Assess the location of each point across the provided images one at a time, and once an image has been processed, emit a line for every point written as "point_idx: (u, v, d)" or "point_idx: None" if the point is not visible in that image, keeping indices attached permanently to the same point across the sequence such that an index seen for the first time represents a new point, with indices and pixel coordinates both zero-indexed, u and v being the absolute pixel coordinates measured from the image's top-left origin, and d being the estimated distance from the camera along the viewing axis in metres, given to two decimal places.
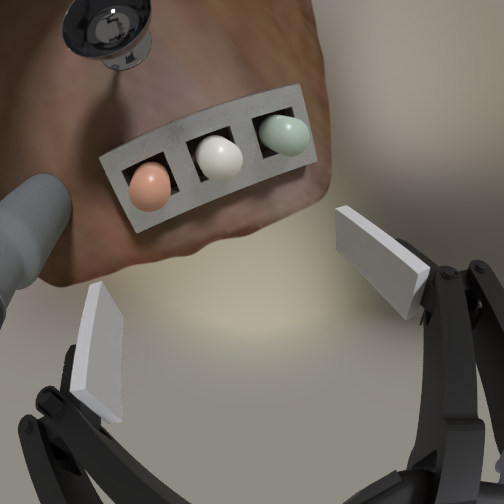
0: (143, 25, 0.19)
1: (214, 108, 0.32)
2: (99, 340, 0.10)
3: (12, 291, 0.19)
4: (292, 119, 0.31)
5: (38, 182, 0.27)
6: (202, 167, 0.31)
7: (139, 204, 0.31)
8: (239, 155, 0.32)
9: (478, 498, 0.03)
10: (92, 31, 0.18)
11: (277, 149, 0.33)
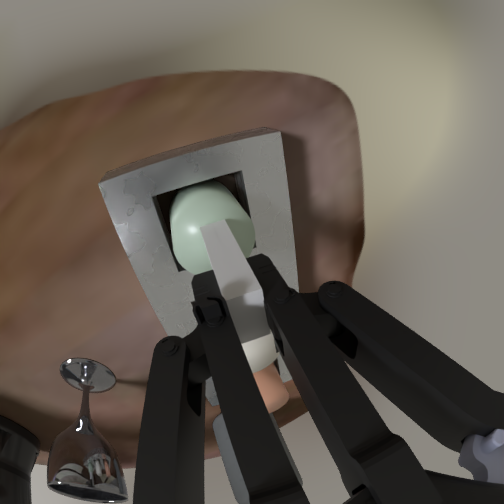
0: None
1: (162, 322, 0.22)
2: None
3: None
4: (176, 243, 0.16)
5: (222, 441, 0.34)
6: (252, 372, 0.22)
7: (275, 408, 0.26)
8: None
9: (478, 498, 0.03)
10: None
11: None
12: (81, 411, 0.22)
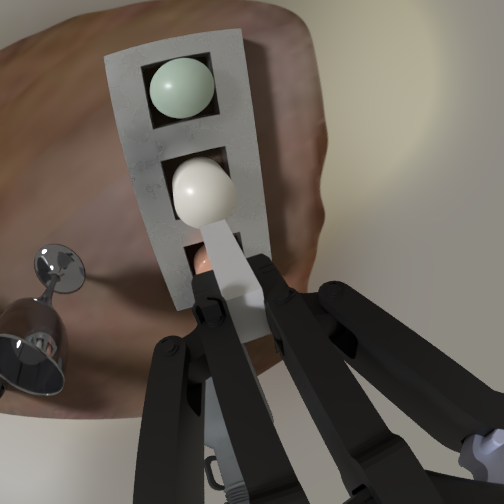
0: None
1: (133, 182, 0.23)
2: None
3: None
4: (153, 86, 0.18)
5: None
6: None
7: None
8: (201, 173, 0.21)
9: (478, 498, 0.03)
10: None
11: (198, 110, 0.20)
12: (43, 293, 0.23)
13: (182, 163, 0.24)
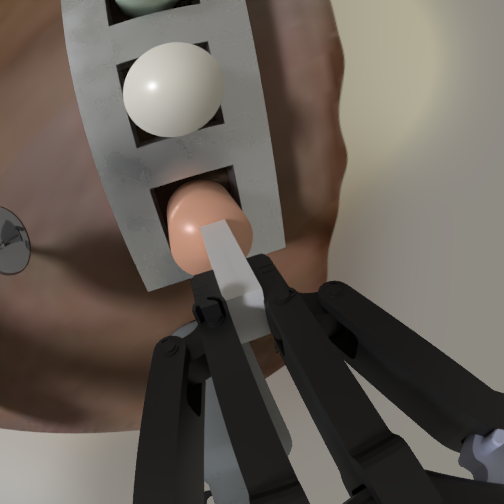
0: None
1: (79, 96, 0.13)
2: None
3: None
4: None
5: None
6: (180, 132, 0.13)
7: None
8: (166, 49, 0.10)
9: (478, 498, 0.03)
10: None
11: None
12: None
13: None
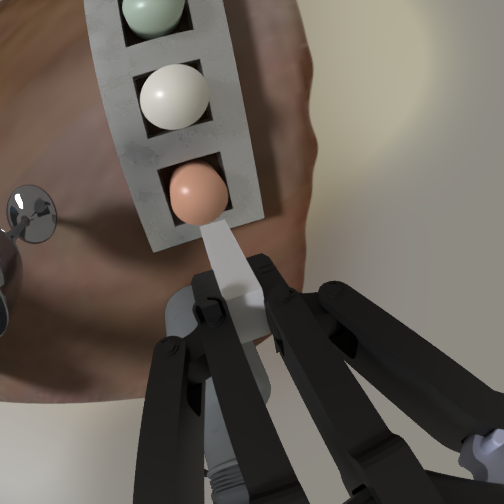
0: None
1: (104, 99, 0.19)
2: None
3: None
4: (125, 2, 0.13)
5: (169, 325, 0.31)
6: (179, 126, 0.19)
7: (213, 213, 0.25)
8: (169, 69, 0.16)
9: (478, 498, 0.03)
10: None
11: (169, 19, 0.15)
12: None
13: None
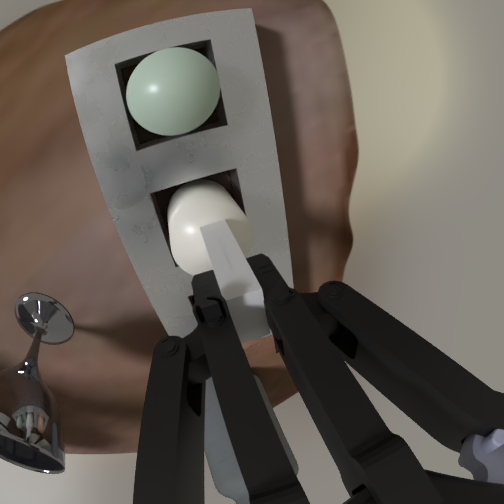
0: None
1: (116, 222, 0.18)
2: None
3: None
4: (130, 90, 0.12)
5: None
6: None
7: (252, 340, 0.24)
8: (205, 209, 0.16)
9: (478, 498, 0.03)
10: None
11: (198, 123, 0.14)
12: (27, 354, 0.18)
13: (178, 189, 0.19)
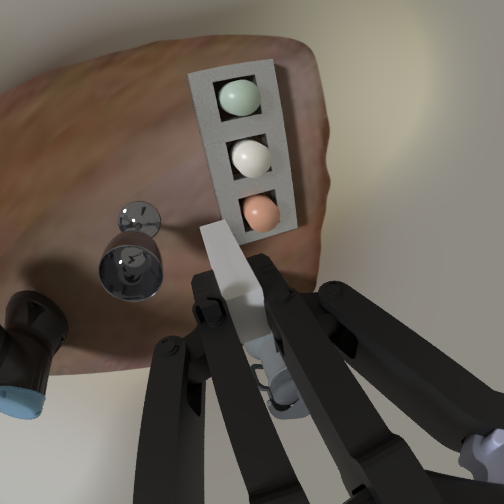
0: None
1: (207, 155, 0.38)
2: None
3: None
4: (225, 96, 0.32)
5: None
6: (256, 176, 0.39)
7: (271, 226, 0.44)
8: (252, 145, 0.36)
9: (478, 498, 0.03)
10: (132, 266, 0.37)
11: (252, 111, 0.34)
12: None
13: (236, 141, 0.40)
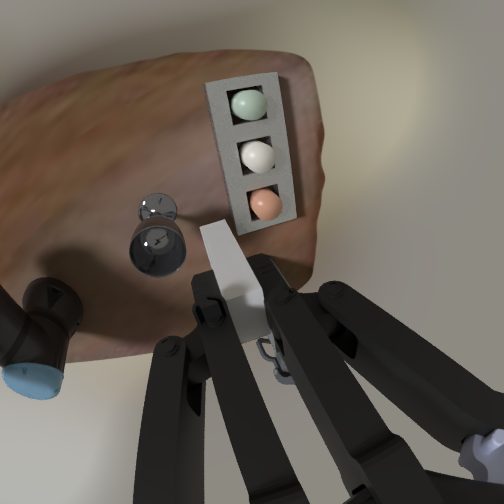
0: None
1: (221, 153, 0.44)
2: None
3: None
4: (237, 103, 0.39)
5: None
6: (262, 172, 0.46)
7: (275, 215, 0.50)
8: (259, 145, 0.43)
9: (478, 498, 0.03)
10: (154, 248, 0.43)
11: (260, 117, 0.41)
12: None
13: (244, 142, 0.47)
